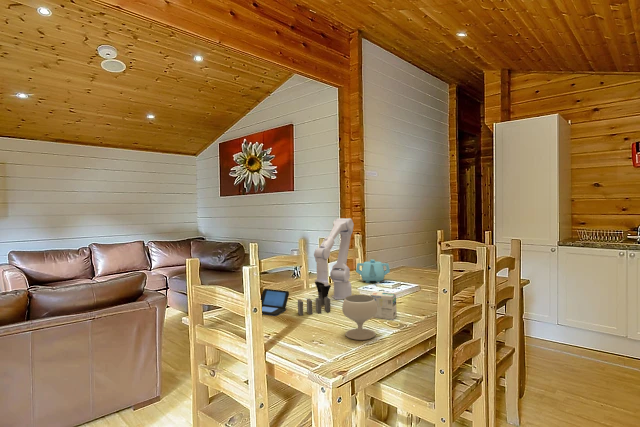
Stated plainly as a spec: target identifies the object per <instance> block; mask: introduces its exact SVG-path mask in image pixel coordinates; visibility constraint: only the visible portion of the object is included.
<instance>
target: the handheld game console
mask: <svg viewBox="0 0 640 427" xmlns="http://www.w3.org/2000/svg"><path fill="white" fill-rule="evenodd" d="M289 296H290V292H289V291H288V290H282V289H281V290H279V289H272V288H263V290H262V293H261V296H260V300H262V313H263V314H262V315H265V316H273V317H277V316H279V315H281V314H282V313H284V312H286V311H287V309H286V308H287V304H288V300H289Z"/></svg>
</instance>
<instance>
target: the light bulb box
mask: <svg viewBox="0 0 640 427" xmlns="http://www.w3.org/2000/svg"><path fill="white" fill-rule="evenodd" d="M370 296H372V297H373V298H374V299H375V301H376V304H377V313H376V315H375V316H374V317H373V318H376V319H386V320H394V319H395V318H396V316H397V293H396V292H386V291H385V292H384V291H376V290H375V291H373V292H372V293H370Z"/></svg>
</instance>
